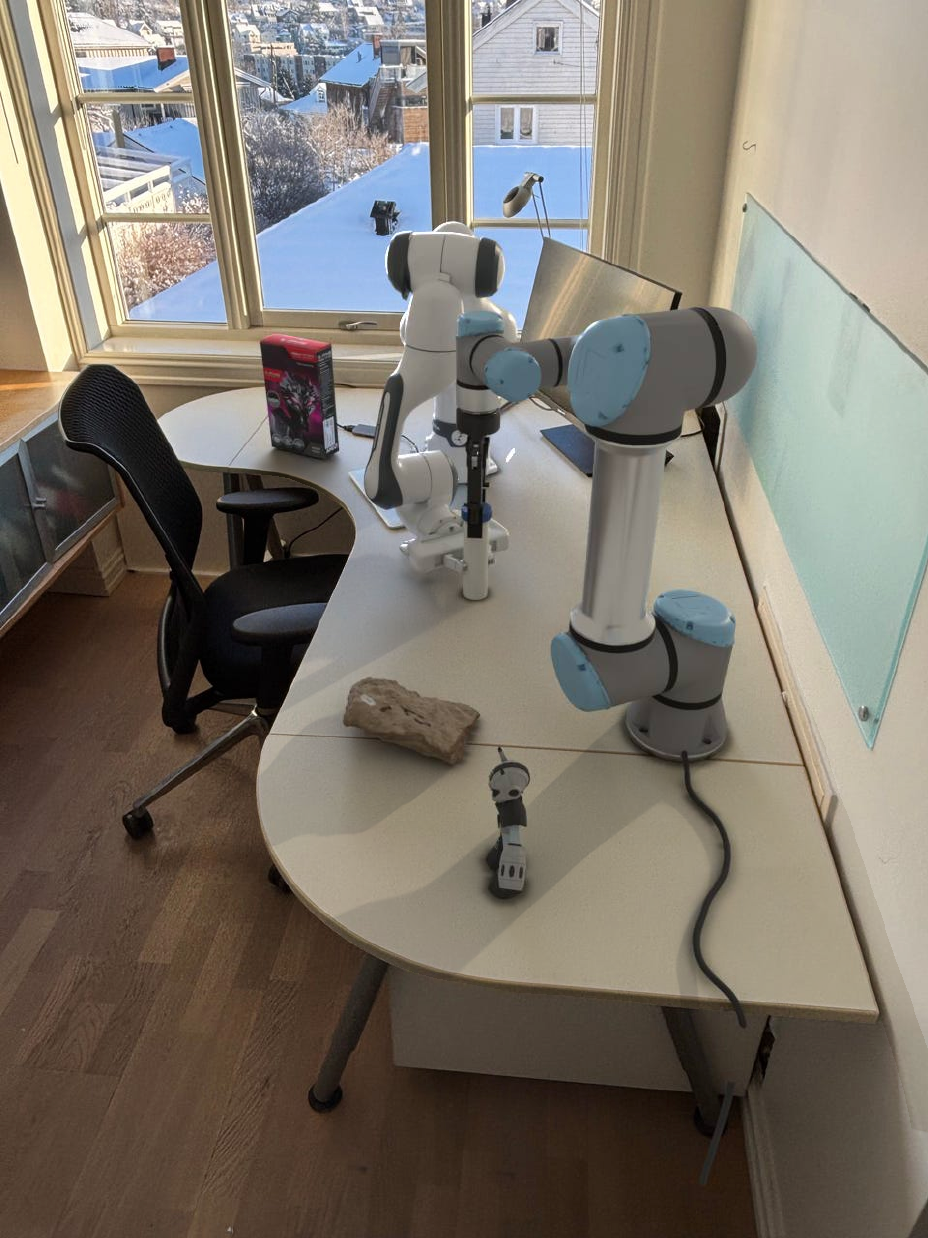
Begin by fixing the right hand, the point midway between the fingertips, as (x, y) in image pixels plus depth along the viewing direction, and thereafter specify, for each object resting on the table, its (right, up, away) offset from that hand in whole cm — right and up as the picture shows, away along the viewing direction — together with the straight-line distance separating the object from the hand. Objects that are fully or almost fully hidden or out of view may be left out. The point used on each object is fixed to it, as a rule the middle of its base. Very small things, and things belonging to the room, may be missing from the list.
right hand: (476, 528), depth 168 cm
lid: (0, +3, -2) cm, 4 cm away
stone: (-11, -34, -26) cm, 44 cm away
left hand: (0, -6, +3) cm, 7 cm away
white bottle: (0, -12, +8) cm, 14 cm away
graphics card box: (-42, +26, +63) cm, 80 cm away
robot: (+3, -49, -49) cm, 70 cm away
